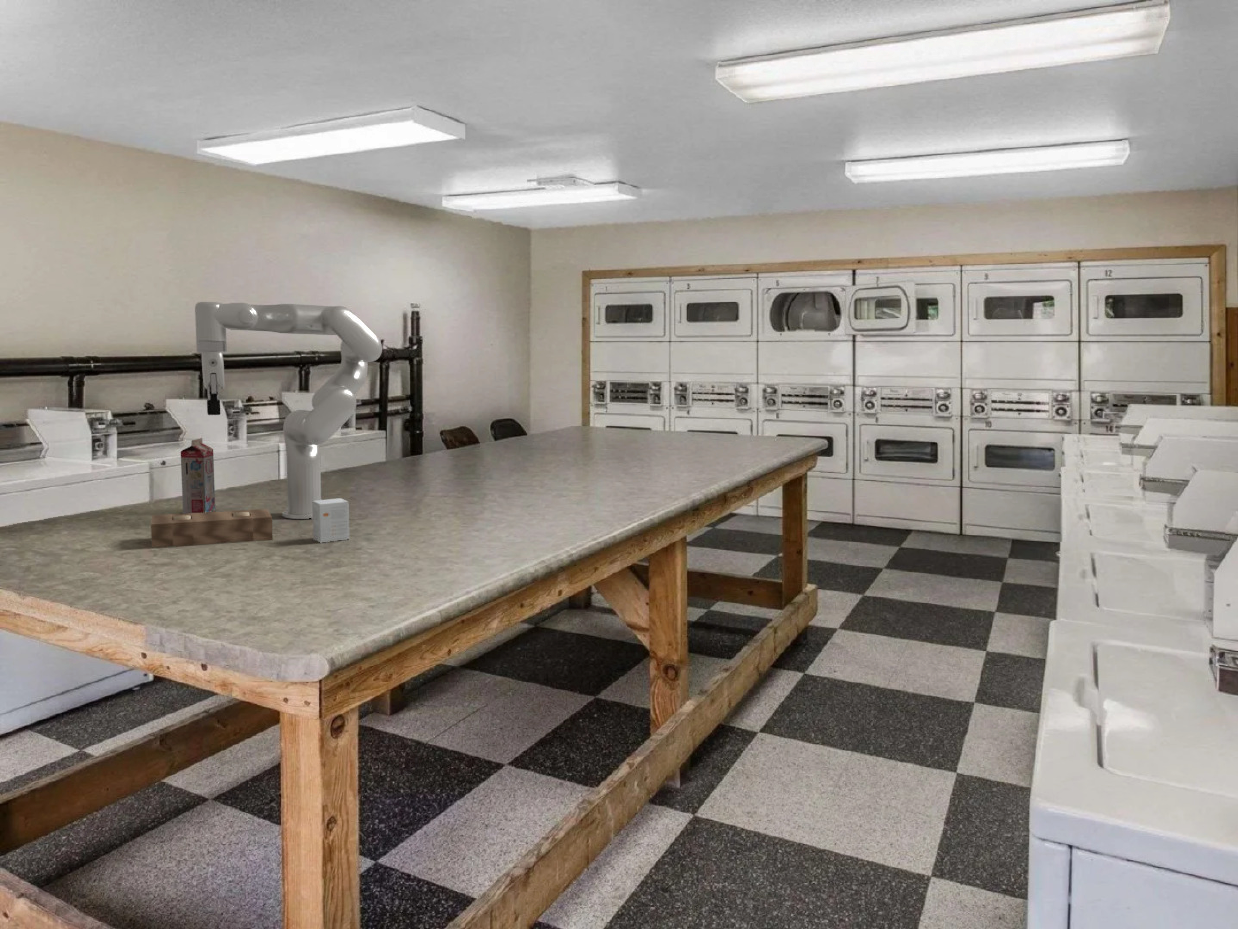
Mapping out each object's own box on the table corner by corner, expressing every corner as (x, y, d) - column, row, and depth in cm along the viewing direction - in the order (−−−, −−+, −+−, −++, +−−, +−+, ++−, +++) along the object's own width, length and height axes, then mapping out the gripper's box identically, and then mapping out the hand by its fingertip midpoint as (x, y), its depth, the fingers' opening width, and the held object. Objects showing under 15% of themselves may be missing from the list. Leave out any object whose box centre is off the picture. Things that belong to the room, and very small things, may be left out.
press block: (267, 530, 239) (267, 509, 238) (272, 539, 229) (272, 517, 228) (152, 538, 226) (151, 515, 225) (151, 548, 216) (150, 524, 215)
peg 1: (191, 536, 227) (190, 514, 226) (191, 539, 223) (190, 517, 223) (174, 537, 225) (173, 515, 224) (174, 540, 221) (173, 518, 221)
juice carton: (215, 509, 265) (212, 438, 262) (205, 514, 258) (202, 440, 255) (193, 509, 265) (190, 437, 262) (183, 513, 258) (180, 440, 255)
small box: (341, 536, 235) (341, 497, 234) (349, 540, 231) (349, 501, 229) (312, 539, 230) (311, 500, 229) (319, 543, 226) (319, 503, 225)
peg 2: (249, 532, 233) (248, 511, 232) (250, 535, 230) (250, 514, 229) (233, 533, 231) (232, 512, 231) (234, 536, 228) (233, 515, 227)
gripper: (228, 348, 233) (230, 416, 235) (225, 347, 246) (227, 412, 248) (197, 347, 229) (199, 417, 232) (195, 347, 242) (198, 412, 245)
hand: (213, 414), depth 240 cm, fingers closed
